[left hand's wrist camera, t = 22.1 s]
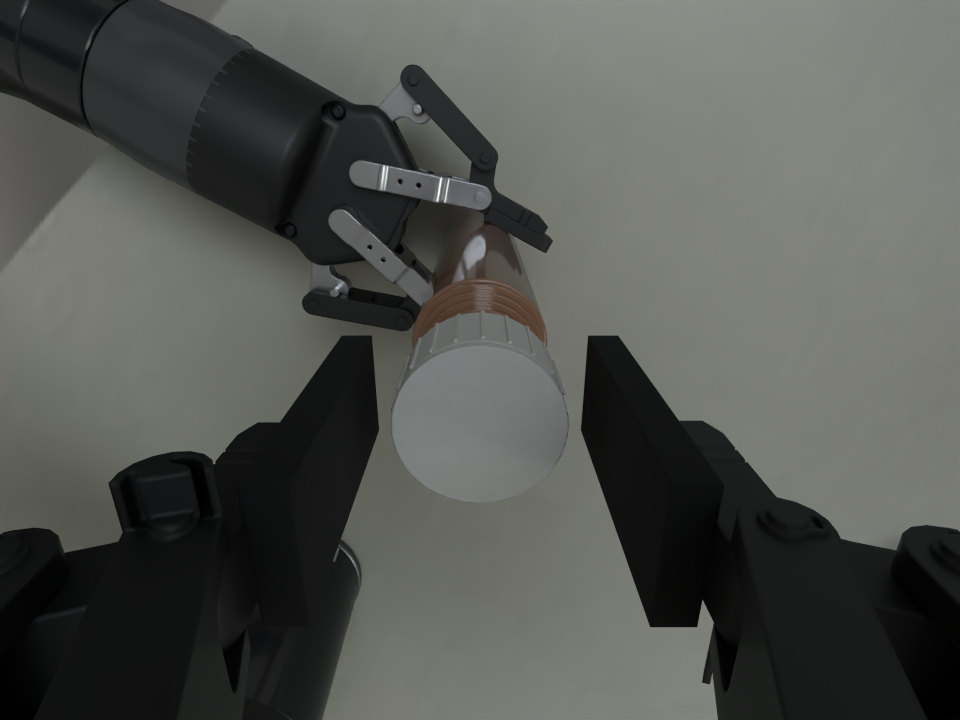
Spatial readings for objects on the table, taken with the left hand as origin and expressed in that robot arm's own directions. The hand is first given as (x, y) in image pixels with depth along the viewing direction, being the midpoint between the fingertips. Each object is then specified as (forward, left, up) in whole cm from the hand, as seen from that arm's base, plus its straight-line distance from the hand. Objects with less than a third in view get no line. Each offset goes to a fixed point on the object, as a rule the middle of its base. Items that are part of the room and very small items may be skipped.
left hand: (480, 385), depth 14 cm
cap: (0, 0, +2) cm, 2 cm away
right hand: (-1, +2, -16) cm, 17 cm away
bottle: (0, 0, -22) cm, 22 cm away
